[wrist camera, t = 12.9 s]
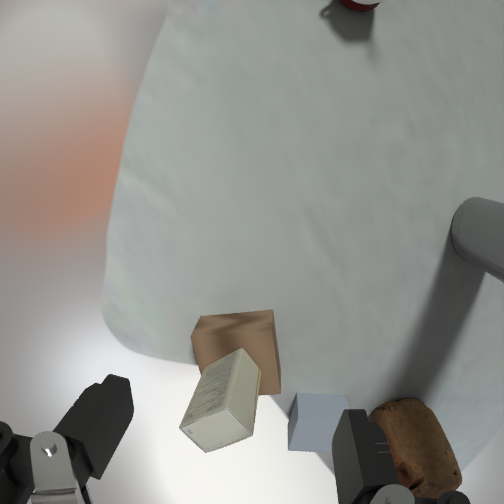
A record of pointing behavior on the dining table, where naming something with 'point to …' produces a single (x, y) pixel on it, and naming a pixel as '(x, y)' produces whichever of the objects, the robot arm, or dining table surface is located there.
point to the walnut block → (240, 343)
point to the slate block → (314, 421)
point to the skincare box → (223, 403)
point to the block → (418, 448)
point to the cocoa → (361, 4)
